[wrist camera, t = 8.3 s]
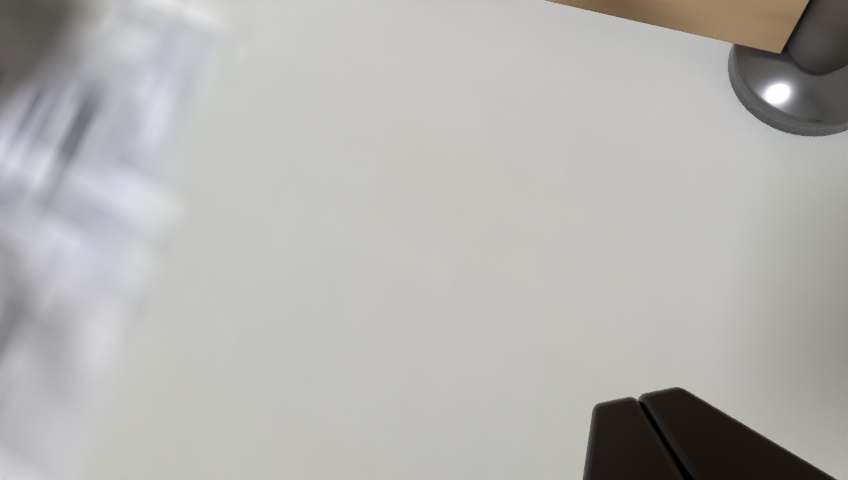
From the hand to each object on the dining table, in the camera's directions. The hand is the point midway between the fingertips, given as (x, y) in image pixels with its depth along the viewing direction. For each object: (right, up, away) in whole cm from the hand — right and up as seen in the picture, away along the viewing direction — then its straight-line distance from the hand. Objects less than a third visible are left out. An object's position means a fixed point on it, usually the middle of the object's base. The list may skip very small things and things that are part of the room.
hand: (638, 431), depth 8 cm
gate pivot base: (+9, +7, +15) cm, 19 cm away
